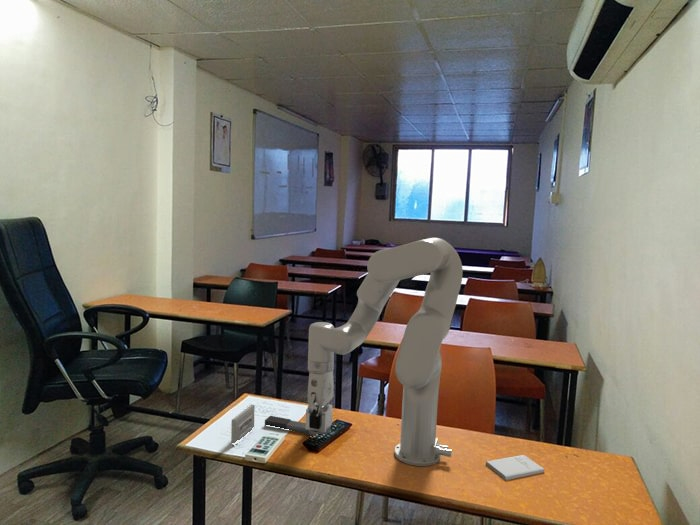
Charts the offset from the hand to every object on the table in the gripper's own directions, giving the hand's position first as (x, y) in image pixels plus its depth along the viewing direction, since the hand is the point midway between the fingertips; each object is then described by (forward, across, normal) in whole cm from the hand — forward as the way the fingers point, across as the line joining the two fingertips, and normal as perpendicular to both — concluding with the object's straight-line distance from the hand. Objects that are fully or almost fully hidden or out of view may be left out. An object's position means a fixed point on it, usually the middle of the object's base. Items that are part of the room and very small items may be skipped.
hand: (319, 422), depth 147 cm
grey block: (+1, 0, 0) cm, 1 cm away
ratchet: (+3, 0, +6) cm, 7 cm away
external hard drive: (+4, +1, -56) cm, 56 cm away
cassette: (+4, -10, +19) cm, 22 cm away
